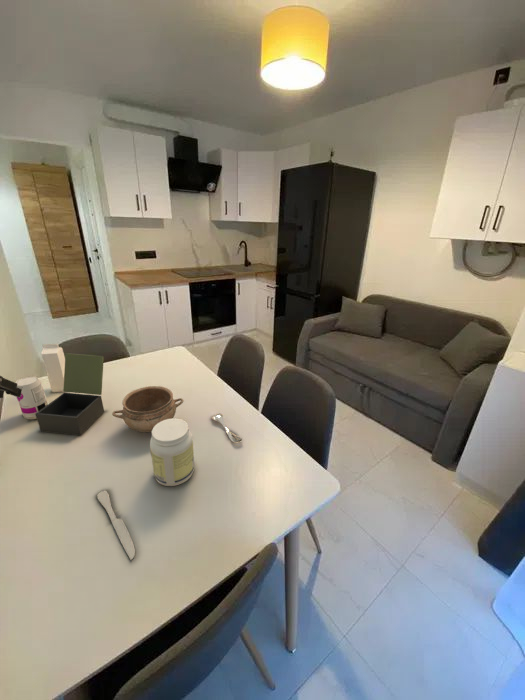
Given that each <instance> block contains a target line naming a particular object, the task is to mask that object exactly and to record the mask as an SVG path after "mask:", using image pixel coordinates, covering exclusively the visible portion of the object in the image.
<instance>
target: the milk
mask: <svg viewBox="0 0 525 700" xmlns="http://www.w3.org/2000/svg"><path fill="white" fill-rule="evenodd" d="M41 345H42V350H41V353H40V354H41V358H42V361H43V365H44V366H43V367H44V369H45V372H46V375H47V376H46V377H47V380H48V383H49V387H50V389H51V392H52V393H58V392H59V393H61V392H63V389H64V371H65V353H64V349H63V347H62V346H59V343H44V344H43V343H42V344H41Z"/></svg>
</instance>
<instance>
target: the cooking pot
mask: <svg viewBox="0 0 525 700" xmlns="http://www.w3.org/2000/svg"><path fill="white" fill-rule="evenodd" d="M183 403H184V398H182V397H180V398H176V399H174V393H173V392H172V390H171V389H169V388H167V387H164V386H160V385H150V386H143V387H139V388H136V389H134V390H132V391H130V392H129V393H127V394H126V395H125V396H124V398H123V399H122V403H121V404H122V406H123V407H122V409H120V410H114V411H113V412H112V414H111V415H112V416H113V417H115V418H117V419H121V420H123V422H124V424H125V425H126V427H128V428H129V429H130V430H133V431H135V432H139V433H149V432H152V429H153V428H154V426H155V425H156V424H158V423H159V422H161V421H163V420H166V419H172V418H174V417H175V415H176V413H177V408H178V407H180V406H181V405H182V404H183Z"/></svg>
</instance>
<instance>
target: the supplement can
mask: <svg viewBox="0 0 525 700" xmlns="http://www.w3.org/2000/svg"><path fill="white" fill-rule="evenodd" d="M14 383H17V388H19V389H22V391H21V396H20V397H16V399H17V402H18V405H19V407H20V410H21V414H22V417H23V418H24V419H26V420H37V418H36V415H35V414H36V413H37V412H39V411H40V410H41V409H43V408H44V407H45V406H47V405H48V404H49V403H48V400H47V397H46V394H45V389H44V387H43V384H42V381H41V380H40V378H38V377H37V376H33V375H32V376H31V375H30V376H25V377H22V378H21V377H20V378H19V379H17V380H16V381H15V382H14Z"/></svg>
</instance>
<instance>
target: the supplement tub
mask: <svg viewBox="0 0 525 700" xmlns="http://www.w3.org/2000/svg"><path fill="white" fill-rule="evenodd" d="M149 449H150V455H151V463H152V468H153V474H154V475H153V476H154V478H155V480H156V482H158V484H159V485H162V486H165V487H174V486H175V487H176V486H179V485H181V484H183V483H185V482H186V481H188V480H189V479H190V478H191V477H192V475H193V474H194V471H195V466H196V465H195V455H194V439H193V434H192V432H191V431H190V428H189V424H188V423H187V421H185V420H183V419H181V418H176V417H175V418H174V417H173V418H172V419H166V420H163V421H161V422H159V423H158V424H156V425H155V426H154V428H153V429H152V431H151V437H150V441H149Z"/></svg>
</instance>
